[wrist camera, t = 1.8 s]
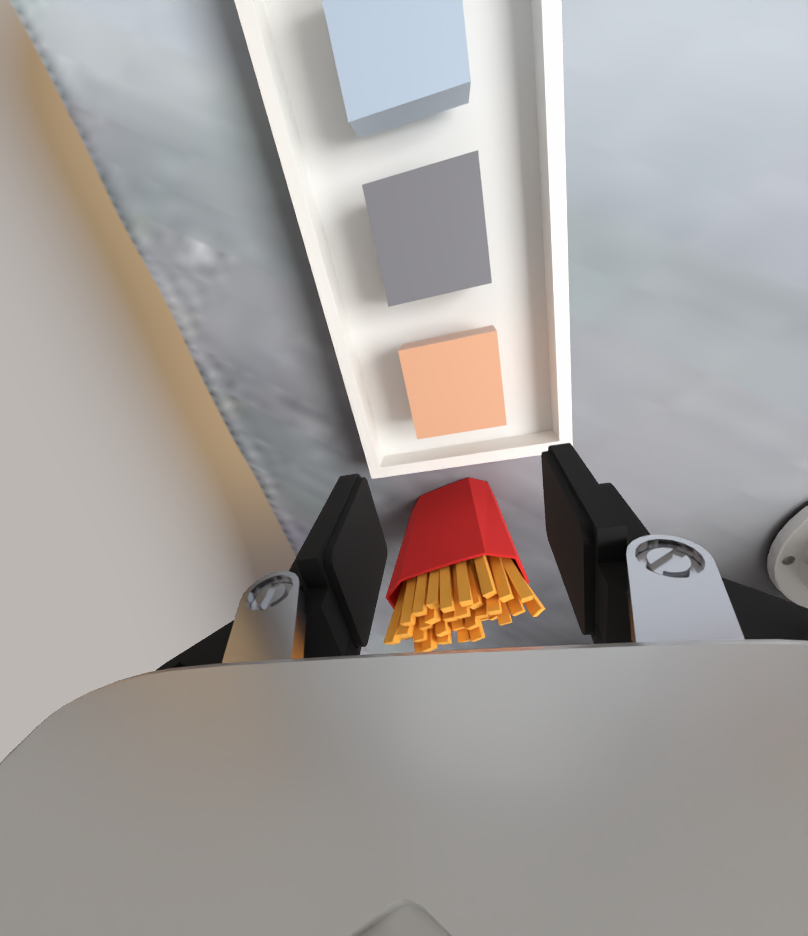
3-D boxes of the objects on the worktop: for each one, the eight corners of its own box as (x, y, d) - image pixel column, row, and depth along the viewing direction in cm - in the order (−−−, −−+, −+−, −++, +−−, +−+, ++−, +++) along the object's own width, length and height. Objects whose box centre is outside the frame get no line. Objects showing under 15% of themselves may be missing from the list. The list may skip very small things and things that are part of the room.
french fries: (418, 540, 34) (402, 678, 22) (396, 503, 32) (366, 630, 21) (518, 505, 31) (558, 642, 20) (499, 462, 30) (529, 584, 18)
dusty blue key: (450, -68, 16) (449, -119, 14) (468, 102, 19) (470, 81, 16) (326, -17, 17) (309, -57, 15) (359, 138, 20) (348, 122, 17)
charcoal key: (475, 163, 20) (478, 150, 17) (487, 281, 22) (491, 283, 20) (370, 193, 21) (361, 184, 19) (394, 303, 23) (388, 306, 21)
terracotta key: (492, 325, 23) (496, 330, 21) (502, 412, 25) (506, 425, 23) (402, 343, 24) (398, 350, 22) (419, 425, 26) (417, 439, 24)
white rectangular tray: (537, -179, 16) (554, -269, 13) (561, 433, 28) (572, 450, 25) (240, -46, 19) (206, -98, 16) (378, 460, 31) (371, 478, 28)
